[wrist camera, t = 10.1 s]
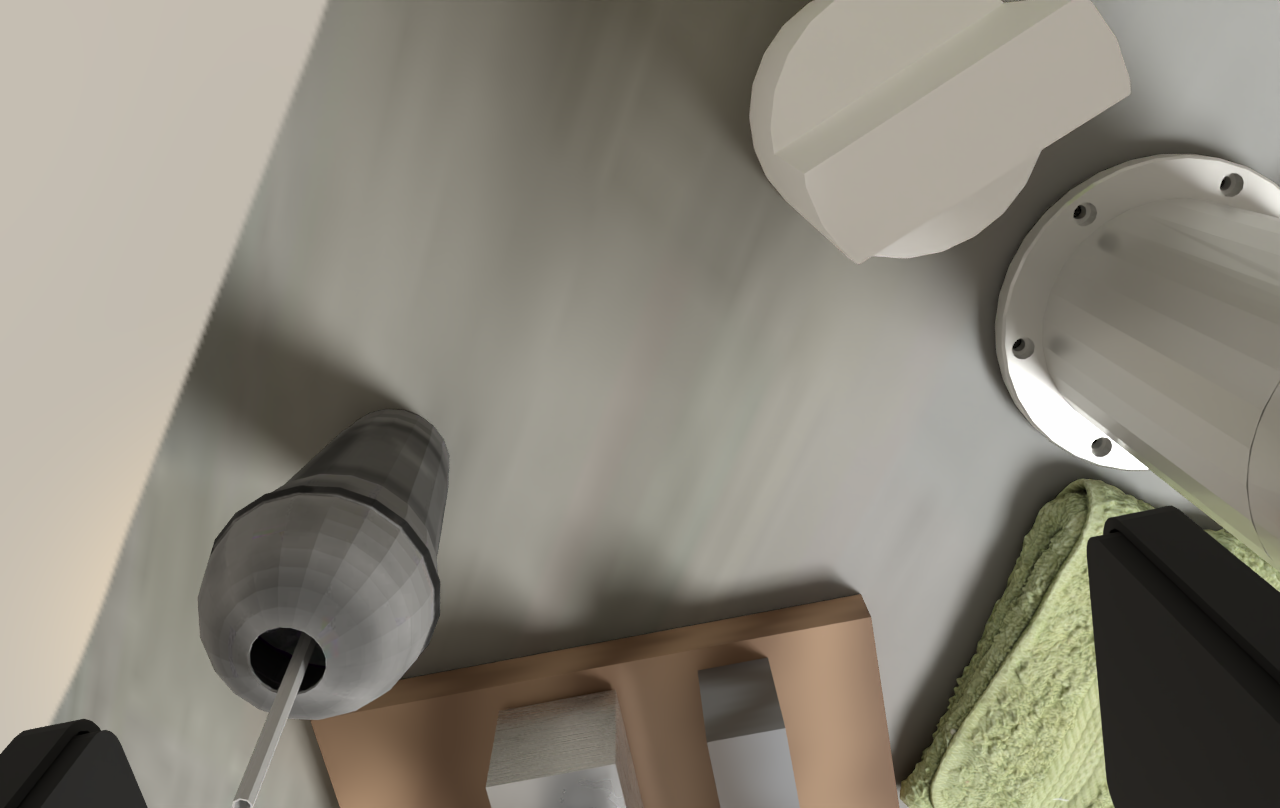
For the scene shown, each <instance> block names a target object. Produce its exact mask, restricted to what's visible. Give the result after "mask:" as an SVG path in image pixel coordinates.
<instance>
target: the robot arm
mask: <svg viewBox="0 0 1280 808" xmlns="http://www.w3.org/2000/svg"><path fill="white" fill-rule="evenodd" d="M1223 179H1225V183H1224V185H1223V187H1222V188H1220V185H1221V181H1222V180H1223ZM1078 205H1080V206H1081V209H1082V210H1081V213H1080V215H1079V216H1077V217H1075V218H1074V217H1073V215H1074V210H1075V209H1076V208H1077V207H1078ZM995 338H996V354H997V358H998V362H999V366H1000V370H1001V374H1002V378H1003V381H1004V383H1005V385H1006V387H1007V389H1008V391H1009V393H1010V395H1011V397H1012V399H1013V401H1014V403H1015V405H1016V406H1017V407H1018V409H1019V410H1020V411H1021V412H1022V414H1023V415H1024V416H1025V417H1026V419H1027V420H1028V421H1029V422H1030V423H1031V425H1032V426H1033V427H1034V428H1036V429H1037V430H1038V431H1039V432H1040V433H1041V434H1042V435H1043V436H1045V437H1046V438H1047V439H1048V440H1049V441H1050V442H1051V443H1053V444H1055V445H1056V446H1058V447H1059V448H1061V449H1062V450H1064V451H1066V452H1067V453H1069V454H1070V455H1072V456H1074V457H1076V458H1079V459H1081V460H1083V461H1086V462H1088V463H1091V464H1094V465H1097V466H1102V467H1107V468H1113V469H1119V470H1125V471H1150V470H1151V471H1152V472H1153V473H1155V474H1156V475H1157V476H1158V477H1160V478H1161V479H1162V480H1163V481H1165V482H1166V483H1167V484H1169V485H1170V486H1171V487H1172V488H1174V489H1175V490H1176V491H1177V492H1179V493H1180V494H1181V495H1182V496H1184V497H1185V498H1186V499H1188V500H1189V501H1190V502H1191V503H1193V504H1194V505H1195V506H1196V507H1198V508H1199V509H1200V510H1201V511H1203V512H1204V513H1205V514H1207V515H1208V516H1209V517H1210V518H1212V519H1213V520H1214V521H1215V522H1217V523H1218V524H1219V525H1220V526H1222V527H1223V528H1224V529H1226V530H1227V531H1228V532H1229V533H1231V534H1232V535H1233V536H1234V537H1236V538H1237V539H1238V540H1239V541H1241V542H1242V543H1243V544H1245V545H1246V546H1247V547H1248V548H1250V549H1251V550H1252V551H1253V552H1255V553H1256V554H1257V555H1258V556H1260V557H1261V558H1262V559H1264V560H1265V561H1266V562H1267V563H1269V564H1270V565H1271V566H1272V567H1274V568H1275V569H1276V570H1277V571H1279V572H1280V187H1279V186H1278V185H1277V184H1275V183H1274V182H1273V181H1271V180H1270V179H1268V178H1266V177H1264V176H1263V175H1261V174H1259V173H1257V172H1256V171H1254V170H1252V169H1250V168H1249V167H1246V166H1243V165H1240V164H1237V163H1233V162H1230V161H1227V160H1224V159H1220V158H1216V157H1209V156H1203V155H1197V154H1159V155H1154V156H1149V157H1144V158H1139V159H1134V160H1129V161H1127V162H1124V163H1122V164H1119V165H1117V166H1114V167H1111V168H1109V169H1106V170H1104V171H1101V172H1099V173H1097V174H1096V175H1094V176H1092V177H1091V178H1089V179H1088V180H1086V181H1084V182H1083V183H1081V184H1079V185H1078V186H1076V187H1075V188H1073V189H1071V190H1070V191H1069V192H1068V193H1067V194H1065V195H1064V196H1063V197H1062V198H1061V199H1060V200H1059V201H1057V202H1056V203H1055V204H1054V205H1053V206H1052V207H1051V208H1049V209H1048V210H1047V211H1046V212H1045V213H1044V214H1043V216H1042V217H1041V218H1040V219H1039V221H1038V222H1037V223H1036V224H1035V226H1034V227H1033V228H1032V229H1031V231H1030V232H1029V233H1028V234H1027V236H1026V237H1025V238H1024V240H1023V242H1022V244H1021V245H1020V247H1019V249H1018V251H1017V253H1016V254H1015V256H1014V258H1013V260H1012V262H1011V263H1010V265H1009V268H1008V271H1007V274H1006V277H1005V280H1004V282H1003V285H1002V288H1001V291H1000V294H999V300H998V307H997V313H996V320H995ZM1020 338H1021V344H1020V346H1019V347H1017V348H1012V347H1013V344H1014V343H1015V342H1016V340H1018V339H1020ZM1097 438H1098V440H1097V442H1096V443H1095V444H1093V445H1091V444H1092V443H1093V442H1094V440H1095V439H1097ZM1086 548H1087V566H1088V577H1089V588H1090V600H1091V611H1092V622H1093V634H1094V645H1095V656H1096V668H1097V679H1098V690H1099V702H1100V713H1101V724H1102V736H1103V747H1104V758H1105V770H1106V779H1107V785H1108V789H1109V793H1110V796H1111V799H1112V802H1113V805H1114V807H1115V808H1280V592H1279V591H1278V590H1277V589H1275V588H1274V587H1273V586H1272V585H1270V584H1269V583H1268V582H1267V581H1266V580H1264V579H1263V578H1262V577H1261V576H1259V575H1258V574H1257V573H1256V572H1255V571H1253V570H1252V569H1251V568H1250V567H1248V566H1247V565H1246V564H1245V563H1244V562H1242V561H1241V560H1240V559H1239V558H1237V557H1236V556H1235V555H1234V554H1233V553H1231V552H1230V551H1229V550H1228V549H1226V548H1225V547H1224V546H1223V545H1222V544H1220V543H1219V542H1218V541H1217V540H1215V539H1214V538H1213V537H1212V536H1211V535H1209V534H1208V533H1207V532H1206V531H1204V530H1203V529H1202V528H1201V527H1200V526H1198V525H1197V524H1196V523H1195V522H1193V521H1192V520H1191V519H1190V518H1189V517H1187V516H1186V515H1185V514H1184V513H1183V512H1181V511H1180V510H1179V509H1177V508H1175V507H1173V506H1166V507H1161V508H1156V509H1151V510H1146V511H1140V512H1135V513H1130V514H1125V515H1120V516H1115V517H1110V518H1108V519H1107V520H1106V522H1105V524H1104V529H1103V535H1100V536H1094V537H1090V538H1089V540H1088V542H1087V547H1086ZM0 808H147V805H146V803H145V800H144V798H143V796H142V793H141V791H140V789H139V786H138V784H137V781H136V779H135V777H134V774H133V772H132V769H131V767H130V765H129V762H128V760H127V758H126V755H125V753H124V750H123V748H122V746H121V744H120V742H119V740H118V738H117V737H116V736H115V735H114V734H113V733H112V732H110V731H107V730H103V731H101V730H100V728H99V727H98V726H97V725H96V724H95V723H94V722H92V721H90V720H86V719H81V720H76V721H71V722H66V723H60V724H55V725H50V726H45V727H40V728H35V729H30V730H26V731H23V732H21V733H20V734H19V735H18V736H16V737H15V738H14V739H13V740H12V741H11V743H10V744H9V745H8V746H7V747H6V748H5V750H4V751H3V752H2V753H1V754H0Z"/></svg>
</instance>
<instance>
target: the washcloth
mask: <svg viewBox="0 0 1280 808" xmlns="http://www.w3.org/2000/svg"><path fill="white" fill-rule="evenodd" d="M1151 509H1156V508H1154V507H1152V506H1151V505H1150V504H1148V503H1144V502H1143V500H1137V499H1136V498H1135V497H1133V496H1132V495H1126V494H1124V493H1123V492H1122V491H1121V490H1120V489H1118V488H1116V487H1115V486H1112V485H1108V484H1105V483H1104V482H1103V481H1100V480H1093V479H1088V480H1087V479H1078V480H1076V481H1074V482H1072V483H1070V484H1069V485H1068V486H1067V487H1066V488H1064V490H1063V491H1062V492H1060V493H1059V494H1058V496H1057V497H1056V498H1055V500H1052V501H1050V502H1047V503H1046V504H1045V505H1044V506H1043V507H1042V508H1041V509H1040V511H1039V513H1038V514H1039V515H1037V517H1036V521H1035V523H1034V524H1033V527H1032V529H1031V530H1030V531H1029V533H1028V534H1027V535H1026V536H1025V537H1024V541H1023V550H1022V552H1021V553H1020V555H1021V556H1020V557H1019V558H1018V559H1017V561H1016V565H1015V566H1014V569H1013V571H1012V573H1011V574H1010V576H1009V578H1008V582H1007V588H1006V590H1005V592H1004V595H1003V596H1002V598H1000V599H999V600H997V602H996V603H995V606H994V608H993V611H992V614H991V616H990V617H989V619H988V621H987V623H986V625H985V631H984V633H983V636H982V638H981V640H980V641H979V642H978V646H977V649H976V650H977V654H975V655H974V656H973V657H972V659H971V661H970V663H969V664H970V665H969V666H966V667H964V672H963V676H962V677H961V678H957V679H956V680H957V683H958V685H959V686H958V687H955V688H954V692H955V696H953V697H951V698H949V702H950V705H949V706H948V707H947V709H948V711H947V712H946V714H944V715H943V716H942V717H941V718H940V722H939V723H938V724H937V727H938V730H937V731H936V732H935V733H933V735H932V736H933V738H934V741H933V743H932V745H931V746H930V747H928V748H926V749H925V750H924V751H923V756H922V757H921V759H922V761H921V762H920V763H917V764H916V766H915V770H914V771H913V773H911V774H910V776H908V778H907V779H906V780H903V781H902V782H901V790H900V799H901V800H902V801H903V802H904V803H905V804H906V805H907V806H908V807H909V808H1115V807H1114V805H1113V802H1112V799H1111V796H1110V793H1109V789H1108V785H1107V779H1106V770H1105V758H1104V747H1103V736H1102V724H1101V713H1100V702H1099V690H1098V679H1097V668H1096V656H1095V645H1094V634H1093V622H1092V611H1091V600H1090V588H1089V577H1088V566H1087V548H1086V547H1087V542H1088V540H1089V538H1090V537H1094V536H1100V535H1103V529H1104V524H1105V522H1106V520H1107V519H1108V518H1110V517H1115V516H1120V515H1125V514H1130V513H1135V512H1140V511H1146V510H1151ZM1204 531H1206V532H1207V533H1208V534H1209V535H1211V536H1212V537H1213V538H1214V539H1215V540H1217V541H1218V542H1219V543H1220V544H1222V545H1223V546H1224V547H1225V548H1226V549H1228V550H1229V551H1230V552H1231V553H1233V554H1234V555H1235V556H1236V557H1237V558H1239V559H1240V560H1241V561H1242V562H1244V563H1245V564H1246V565H1247V566H1248V567H1250V568H1251V569H1252V570H1253V571H1255V572H1256V573H1257V574H1258V575H1259V576H1261V577H1262V578H1263V579H1264V580H1266V581H1267V582H1268V583H1269V584H1270V585H1272V586H1273V587H1274V588H1275V589H1277V590H1278V591H1279V592H1280V572H1279V571H1277V570H1276V569H1275V568H1274V567H1272V566H1271V565H1270V564H1269V563H1267V562H1266V561H1265V560H1264V559H1262V558H1261V557H1260V556H1258V555H1257V554H1256V553H1255V552H1253V551H1252V550H1251V549H1250V548H1248V547H1247V546H1246V545H1245V544H1243V543H1242V542H1241V541H1239V540H1238V539H1237V538H1236V537H1234V536H1233V535H1232V534H1231V533H1227V532H1225V529H1221V530H1218V531H1213V530H1209V529H1208V530H1207V529H1206V530H1204Z"/></svg>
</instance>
